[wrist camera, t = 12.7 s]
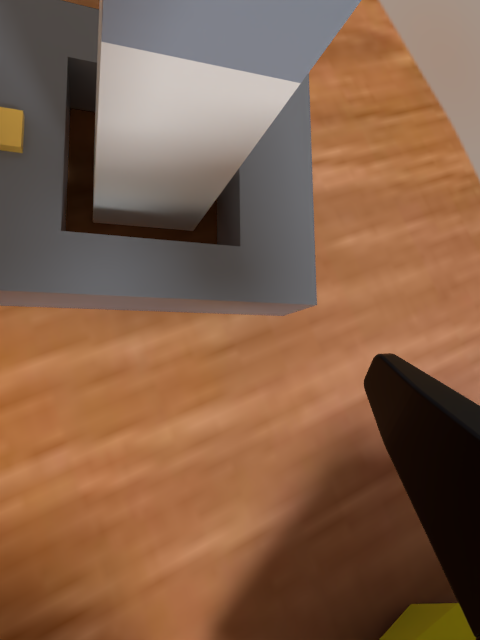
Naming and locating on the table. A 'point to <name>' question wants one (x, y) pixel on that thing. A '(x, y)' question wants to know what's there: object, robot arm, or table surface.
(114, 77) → the plug
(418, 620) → the plumb bob
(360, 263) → the table surface
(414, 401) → the robot arm
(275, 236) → the port panel
